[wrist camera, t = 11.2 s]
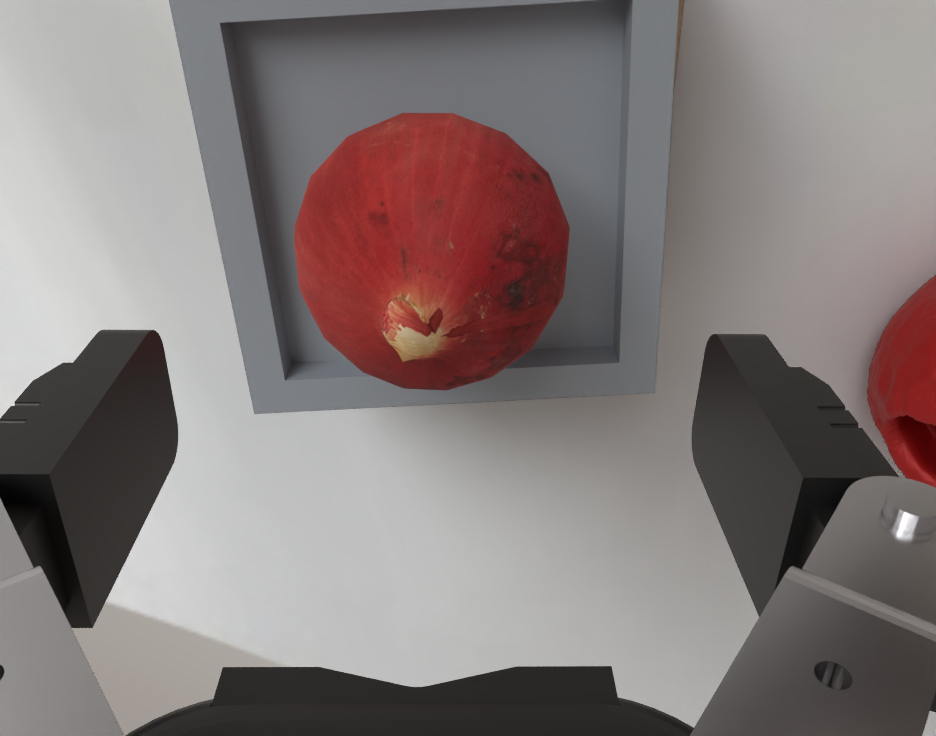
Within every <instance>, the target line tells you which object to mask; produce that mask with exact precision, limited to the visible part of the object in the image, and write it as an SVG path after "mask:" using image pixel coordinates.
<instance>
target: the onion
mask: <svg viewBox="0 0 936 736" xmlns="http://www.w3.org/2000/svg"><path fill="white" fill-rule="evenodd" d="M569 232H570V226H569V224H568V221H567V219H566V216H565V214H564V211H563V208H562V206H561V203H560V201H559V198H558V196H557V193H556V191H555V188H554V185H553V183H552V180H551V178H550V175H549V173H548V172H547V171H546V170H545V169H544V168H543V167H542V166H541V165H540V164H539V163H538V162H536V161H535V160H534V159H533V158H532V157H531V156H530V155H529V154H528V153H527V152H526V151H525V150H524V149H522V148H521V147H520V146H519V145H518V144H517V143H516V142H515V141H514V140H513V139H512V138H511V137H510V136H508V135H507V134H506V133H504V132H501V131H498V130H496V129H493V128H491V127H488V126H485V125H483V124H480V123H477V122H475V121H472V120H470V119H467V118H464V117H462V116H459V115H457V114H454V113H401V114H399V115H396V116H394V117H392V118H389V119H387V120H384V121H382V122H380V123H377V124H375V125H372V126H370V127H368V128H365V129H363V130H360V131H358V132H356V133H354V134H352V135H350V136H348V137H346V138H345V139H344V141H343V142H342V143H341V144H340V145H339V146H338V147H337V148H336V149H335V150H334V151H333V153H332V154H331V155H330V156H329V157H328V158H327V159H326V160H325V161H324V162H323V163H322V165H321V166H320V167H319V168H318V169H317V170H316V171H315V172H314V173H313V174H312V175H311V176H310V179H309V182H308V186H307V189H306V192H305V195H304V198H303V201H302V205H301V208H300V211H299V214H298V217H297V220H296V224H295V232H294V245H295V255H296V264H297V274H298V283H299V289H300V291H301V294H302V296H303V298H304V300H305V302H306V304H307V306H308V308H309V310H310V312H311V314H312V316H313V318H314V320H315V322H316V324H317V325H318V327H319V329H320V331H321V333H322V335H323V337H324V339H325V340H327V341H328V342H329V343H330V344H331V345H332V346H333V347H335V348H336V349H337V350H338V351H339V352H340V353H341V354H342V355H344V356H345V357H346V358H347V359H348V360H349V361H350V362H352V363H353V364H354V365H355V366H356V367H357V368H358V369H360V370H361V371H362V372H363V373H366V374H368V375H371V376H373V377H376V378H378V379H381V380H383V381H386V382H388V383H391V384H393V385H396V386H398V387H401V388H403V389H422V390H444V391H447V390H450V389H454V388H457V387H461V386H464V385H467V384H471V383H474V382H478V381H481V380H485V379H488V378H491V377H493V376H494V375H496V374H497V373H499V372H500V371H502V370H503V369H504V368H506V367H507V366H509V365H510V364H511V363H513V362H514V361H516V360H517V359H519V358H520V357H521V356H523V355H524V354H526V353H527V352H528V351H530V350H531V348H532V347H533V346H534V344H535V343H536V342H537V340H538V338H539V337H540V335H541V333H542V332H543V330H544V328H545V326H546V325H547V323H548V321H549V320H550V318H551V316H552V315H553V313H554V311H555V310H556V308H557V306H558V304H559V303H560V301H561V299H562V298H563V294H564V287H565V278H566V267H567V255H568V244H569Z"/></svg>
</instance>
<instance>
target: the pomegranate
mask: <svg viewBox="0 0 936 736" xmlns="http://www.w3.org/2000/svg"><path fill="white" fill-rule="evenodd" d="M867 395H868V404H869V407H870V411H871V415H872V417H873V420H874V422H875V425H876V426H877V428H878V429H879V431H880V432H881V434H882V436H883V438H884V441H885V443H886V444H887V447H888V450H889V452H890V454H891V456H892V458H893V460H894V462H895V464H896V465H897V467H898V468H899V469H900V470H901V471H902V473H903V474H904V475H905V477H906V478H907V479H912V480H915V481H919V482H922V483H925V484H928V485H930V486H933V487H935V488H936V275H935V276H934V277H933V278H931V279H930V280H929V281H928V282H927V283H925V284H924V285H923V286H922V287H921V288H920V289H919V290H917V291H916V292H915V293H914V294H913V295H912V296H911V297H910V298H909V300H908V301H907V302H906V303H905V304H904V305H903V306H902V307H901V308H900V309H899V310H898V311H897V313H896V314H895V315H894V316H893V317H892V319H891V320H890V322H889V323H888V325H887V326H886V328H885V330H884V331H883V333H882V336H881V338H880V340H879V342H878V344H877V347H876V350H875V354H874V357H873V359H872V362H871V365H870V368H869V381H868V388H867Z"/></svg>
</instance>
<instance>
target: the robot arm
mask: <svg viewBox="0 0 936 736" xmlns="http://www.w3.org/2000/svg"><path fill="white" fill-rule="evenodd" d="M177 445H178V424H177V417H176V412H175V407H174V401H173V396H172V390H171V385H170V379H169V374H168V368H167V363H166V358H165V352H164V347H163V343H162V340H161V338H160V336H159V334H158V333H157V332H156V331H154V330H101V331H99V332H98V333H97V334H96V335H95V337H94V338H93V339H92V340H91V341H90V343H89V344H88V345H87V346H86V348H85V349H84V350H83V351H82V353H81V354H80V355H79V356H78V357H77V359H76V360H75V361H74V362H73V363H62V364H60V365H59V366H57V367H55V368H54V369H52V370H50V371H49V372H47V373H45V374H44V375H42V376H40V377H39V378H37V379H35V380H34V381H32V383H31V384H30V385H29V386H28V387H27V388H26V389H25V391H24V392H23V393H22V394H21V395H20V396H19V398H18V399H17V400H16V401H15V406H11V407H10V408H9V409H8V410H7V411H6V413H5V414H4V415H3V416H2V417H1V418H0V736H124V734H123V732H122V730H121V728H120V726H119V724H118V722H117V720H116V717H115V716H114V713H113V711H112V709H111V707H110V705H109V703H108V701H107V699H106V697H105V695H104V693H103V691H102V689H101V687H100V685H99V683H98V681H97V679H96V677H95V675H94V673H93V671H92V669H91V667H90V665H89V663H88V661H87V659H86V657H85V655H84V653H83V651H82V648H81V646H80V644H79V642H78V640H77V638H76V636H75V634H74V633H73V630H72V628H93V626H94V623H95V622H96V620H97V617H98V616H99V614H100V612H101V610H102V607H103V605H104V603H105V601H106V599H107V597H108V595H109V593H110V591H111V589H112V587H113V585H114V583H115V581H116V579H117V577H118V575H119V573H120V571H121V569H122V567H123V565H124V563H125V561H126V559H127V557H128V555H129V553H130V551H131V549H132V547H133V545H134V543H135V541H136V538H137V536H138V534H139V532H140V530H141V528H142V526H143V524H144V522H145V520H146V518H147V516H148V514H149V512H150V510H151V508H152V506H153V504H154V502H155V500H156V498H157V496H158V494H159V492H160V490H161V488H162V486H163V484H164V482H165V480H166V478H167V476H168V474H169V472H170V470H171V467H172V465H173V463H174V460H175V457H176V452H177ZM692 451H693V458H694V462H695V466H696V468H697V471H698V473H699V475H700V478H701V480H702V482H703V485H704V487H705V490H706V492H707V494H708V497H709V499H710V501H711V504H712V506H713V508H714V511H715V513H716V516H717V518H718V520H719V523H720V525H721V527H722V530H723V532H724V534H725V537H726V539H727V542H728V544H729V546H730V549H731V551H732V553H733V556H734V558H735V561H736V563H737V565H738V568H739V570H740V572H741V575H742V577H743V579H744V582H745V584H746V587H747V589H748V591H749V594H750V596H751V598H752V601H753V603H754V605H755V608H756V610H757V613H758V615H759V619H758V621H757V622H756V624H755V626H754V627H753V629H752V631H751V633H750V634H749V636H748V638H747V639H746V641H745V643H744V644H743V646H742V648H741V649H740V651H739V653H738V655H737V656H736V658H735V660H734V661H733V663H732V665H731V666H730V668H729V670H728V672H727V673H726V675H725V677H724V678H723V680H722V682H721V683H720V685H719V687H718V688H717V690H716V692H715V694H714V695H713V697H712V699H711V700H710V702H709V704H708V705H707V707H706V709H705V711H704V712H703V714H702V716H701V717H700V719H699V721H698V722H697V724H696V726H695V728H693V727H691V726H689V725H688V724H686V723H684V722H682V721H681V720H679V719H677V718H675V717H673V716H670V715H668V714H666V713H664V712H661V711H659V710H657V709H655V708H652V707H649V706H646V705H643V704H640V703H637V702H634V701H630V700H626V699H622V698H618V697H617V692H616V687H615V682H614V677H613V672H612V667H611V666H578V667H513V668H508V669H504V670H499V671H494V672H490V673H485V674H481V675H476V676H472V677H467V678H463V679H458V680H454V681H449V682H444V683H440V684H435V685H431V686H426V687H408V686H403V685H398V684H394V683H389V682H385V681H380V680H376V679H371V678H366V677H362V676H357V675H353V674H348V673H344V672H339V671H334V670H330V669H325V668H321V667H223V669H222V672H221V676H220V679H219V683H218V686H217V689H216V693H215V696H214V699H212V700H208V701H203V702H199V703H196V704H193V705H190V706H187V707H184V708H181V709H178V710H175V711H173V712H170V713H168V714H166V715H163V716H161V717H159V718H157V719H154V720H152V721H151V722H149V723H147V724H145V725H143V726H141V727H140V728H137V729H136V730H134V731H132V732H131V733H129V734H128V735H126V736H922V734H923V731H924V727H925V724H926V721H927V718H928V714H929V711H933V712H936V488H935V487H933V486H930V485H928V484H925V483H922V482H919V481H915V480H912V479H907V478H902V477H899V476H898V475H897V474H896V472H895V471H894V470H893V468H892V467H891V466H890V464H889V463H888V462H887V460H886V459H885V458H884V457H883V455H882V454H881V453H880V451H879V450H878V449H877V447H876V446H875V445H874V443H873V442H872V441H871V440H870V438H869V437H868V436H867V434H866V433H865V432H864V430H863V429H862V428H858V423H857V421H856V420H855V419H854V417H853V416H852V415H851V413H850V412H849V411H845V406H844V404H843V403H842V402H841V400H840V399H839V398H838V396H837V395H836V394H835V392H834V391H833V390H832V388H831V387H830V386H829V385H828V384H826V383H825V382H823V381H821V380H820V379H818V378H817V377H815V376H814V375H812V374H811V373H809V372H808V371H806V370H805V369H803V368H801V367H789V366H788V365H787V364H786V362H785V361H784V359H783V358H782V357H781V355H780V354H779V352H778V351H777V350H776V348H775V347H774V345H773V344H772V343H771V341H770V340H769V338H768V337H767V336H766V335H763V334H713V335H712V336H711V337H710V338H709V340H708V342H707V345H706V349H705V354H704V360H703V366H702V372H701V378H700V384H699V390H698V395H697V401H696V407H695V413H694V419H693V426H692Z"/></svg>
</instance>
